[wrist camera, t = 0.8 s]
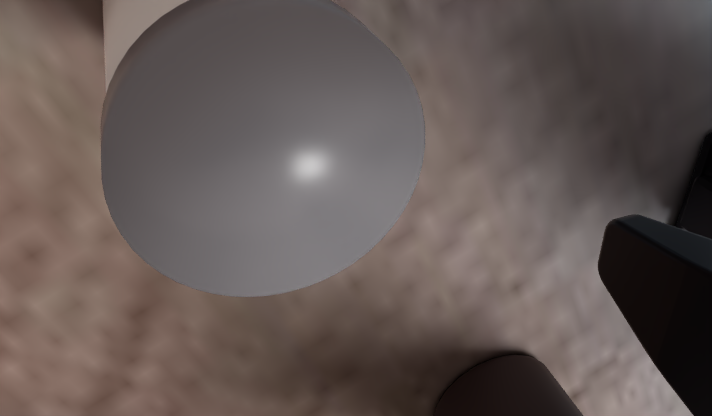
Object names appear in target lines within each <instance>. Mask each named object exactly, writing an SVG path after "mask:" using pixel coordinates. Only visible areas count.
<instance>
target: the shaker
mask: <svg viewBox="0 0 712 416" xmlns="http://www.w3.org/2000/svg"><path fill="white" fill-rule="evenodd" d="M103 24H104V52H105V80H106V96H105V100H104V103H103V110H102V117H101V170H102V184H103V189H104V195H105V200H106V203H107V205H108V208H109V211H110V214H111V217H112V219H113V221H114V222H115V224H116V226H117V228H118V230H119V232H120V233H121V235H122V236H123V238H124V239H125V240H126V241H127V243H128V244H129V245H130V247H131V248H132V249H133V250H134V251H135V252H136V253H137V254H138V255H139V256H140V257H141V258H142V259H143V260H144V261H145V262H146V263H147V264H149V265H150V266H152V267H153V268H154V269H156V270H157V271H158V272H160V273H161V274H163V275H165V276H167V277H169V278H170V279H172V280H174V281H176V282H178V283H181V284H183V285H186V286H188V287H191V288H193V289H196V290H200V291H204V292H208V293H212V294H218V295H225V296H236V297H256V296H269V295H275V294H281V293H286V292H290V291H294V290H297V289H301V288H305V287H307V286H310V285H312V284H315V283H318V282H320V281H323V280H325V279H327V278H329V277H331V276H333V275H335V274H337V273H339V272H340V271H342V270H343V269H345V268H347V267H348V266H350V265H351V264H353V263H355V262H356V261H357V260H358V259H360V258H361V257H362V256H364V255H365V254H366V253H367V252H369V251H370V250H371V249H372V248H373V247H374V246H375V245H376V244H377V243H378V242H379V241H380V240H381V239H382V238H383V237H384V236H385V235H386V234H387V232H388V231H389V230H390V229H391V228H392V227H393V225H394V224H395V223H396V221H397V220H398V218H399V217H400V215H401V214H402V212H403V211H404V209H405V207H406V205H407V204H408V202H409V200H410V198H411V196H412V194H413V191H414V189H415V186H416V184H417V181H418V179H419V175H420V171H421V167H422V163H423V157H424V149H425V123H424V116H423V110H422V106H421V103H420V99H419V96H418V93H417V90H416V88H415V86H414V84H413V82H412V80H411V77H410V75H409V74H408V72H407V71H406V69H405V68H404V66H403V65H402V63H401V62H400V60H399V59H398V58H397V57H396V56H395V55H394V54H393V52H392V51H391V50H390V49H389V48H388V47H387V46H386V45H385V44H384V43H383V42H382V41H381V40H380V39H379V38H378V37H376V36H375V35H374V34H373V33H372V32H371V31H370V30H369V29H368V28H367V27H366V26H365V25H364V24H362V23H361V22H360V21H359V20H358V19H357V18H355V17H354V16H353V15H352V14H350V13H349V12H348V11H347V10H345V9H344V8H342V7H340V6H339V5H337V4H335V3H334V2H332V1H330V0H103Z"/></svg>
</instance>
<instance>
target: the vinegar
mask: <svg viewBox="0 0 712 416" xmlns="http://www.w3.org/2000/svg"><path fill="white" fill-rule="evenodd" d="M434 416H583V415H582V413H581V412H580V411H579V409H578V408H577V407H576V405H575V404H574V403H573V402H572V400H571V399H570V398H569V396H568V395H567V394H566V392H565V391H564V390H563V388H562V387H561V386H560V385H559V383H558V382H557V381H556V379H555V378H554V377H553V375H552V374H551V373H550V371H549V370H548V369H547V367H546V366H545V365H544V364H543V363H541V362H540V361H538V360H536V359H534V358H532V357H530V356H522V355H508V356H503V357H498V358H493V359H491V360H489V361H486V362H484V363H482V364H479V365H477V366H475V367H474V368H472V369H471V370H469V371H468V372H466V373H465V374H463V375H462V376H460V377H459V378H458V379H457V380H456V381H455V382H454V383H453V384H452V385H451V386H450V387H449V388H448V389H447V390H446V392H445V393H444V395H443V396H442V398H441V400H440V401H439V403H438V405H437V406H436V410H435V414H434Z"/></svg>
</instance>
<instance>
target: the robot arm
mask: <svg viewBox="0 0 712 416" xmlns="http://www.w3.org/2000/svg"><path fill="white" fill-rule="evenodd" d="M598 271H599V275H600V278H601V280H602V282H603V284H604V285H605V287H606V288H607V290H608V292H609V293H610V295H611V296H612V298H613V300H614V301H615V303H616V304H617V306H618V308H619V309H620V311H621V312H622V314H623V316H624V317H625V319H626V320H627V322H628V324H629V325H630V327H631V328H632V330H633V332H634V333H635V335H636V336H637V338H638V340H639V341H640V343H641V344H642V346H643V348H644V349H645V351H646V352H647V354H648V355H649V357H650V358H651V360H652V361H653V363H654V364H655V366H656V367H657V368H658V370H659V371H660V372H661V374H662V375H663V377H664V378H665V379H666V381H667V382H668V383H669V384H670V386H671V387H672V388H673V390H674V391H675V392H676V393H677V395H678V396H679V397H680V399H681V400H682V401H683V403H684V404H685V405H686V406H687V408H688V409H689V410H690V412H691V413H692V414H693V415H694V416H712V132H711V133H710V134H709V135H708V136H707V137H706V138H705V141H704V143H703V146H702V149H701V152H700V155H699V158H698V161H697V164H696V167H695V170H694V173H693V176H692V179H691V182H690V185H689V188H688V191H687V194H686V197H685V200H684V203H683V206H682V209H681V212H680V215H679V218H678V221H677V224H676V227H674V226H671V225H668V224H665V223H662V222H659V221H656V220H653V219H650V218H647V217H644V216H641V215H629V216H625V217H621V218H617V219H614V220H612V221H610V222H609V223H608V225H607V226H606V228H605V232H604V237H603V242H602V246H601V251H600V255H599V260H598Z"/></svg>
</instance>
